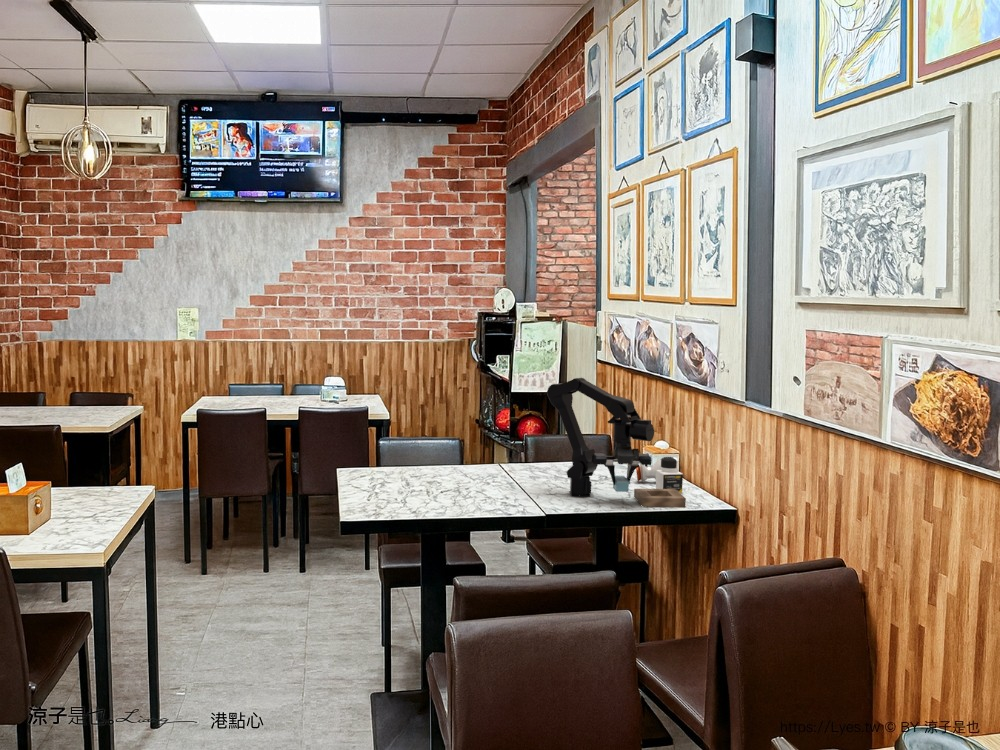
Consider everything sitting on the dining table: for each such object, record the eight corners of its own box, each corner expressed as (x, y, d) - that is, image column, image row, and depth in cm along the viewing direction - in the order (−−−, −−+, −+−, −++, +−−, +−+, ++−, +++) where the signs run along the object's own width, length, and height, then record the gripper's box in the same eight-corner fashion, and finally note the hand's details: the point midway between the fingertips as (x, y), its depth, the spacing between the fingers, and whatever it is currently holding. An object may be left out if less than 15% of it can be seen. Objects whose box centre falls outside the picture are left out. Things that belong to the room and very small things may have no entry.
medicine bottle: (662, 494, 314) (664, 459, 313) (655, 489, 321) (656, 456, 320) (682, 493, 315) (683, 459, 314) (674, 489, 322) (675, 455, 321)
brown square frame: (642, 506, 294) (642, 498, 294) (633, 497, 308) (634, 488, 308) (685, 507, 295) (685, 498, 295) (675, 497, 309) (675, 489, 309)
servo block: (617, 493, 295) (617, 482, 295) (611, 486, 306) (612, 475, 306) (629, 493, 295) (630, 482, 295) (623, 486, 306) (623, 475, 306)
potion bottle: (680, 488, 330) (638, 491, 332) (676, 468, 337) (636, 472, 339) (680, 470, 324) (637, 474, 326) (676, 451, 331) (635, 454, 333)
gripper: (597, 441, 290) (596, 490, 292) (655, 442, 291) (654, 490, 293) (592, 436, 302) (591, 482, 303) (648, 436, 302) (646, 483, 304)
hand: (620, 485), depth 300 cm, fingers closed on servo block, 4 cm apart
